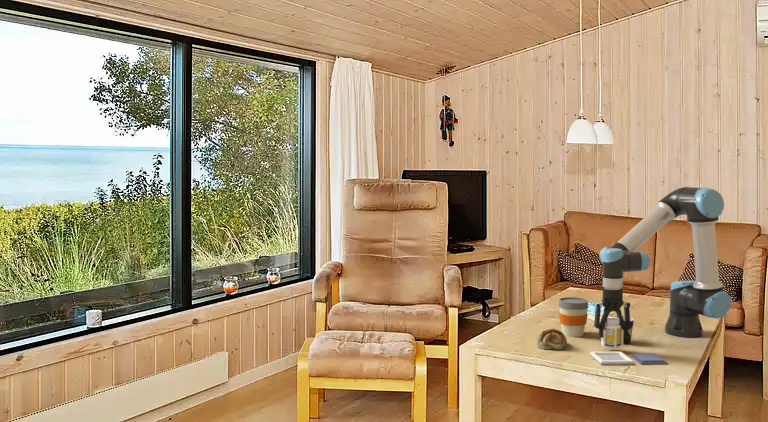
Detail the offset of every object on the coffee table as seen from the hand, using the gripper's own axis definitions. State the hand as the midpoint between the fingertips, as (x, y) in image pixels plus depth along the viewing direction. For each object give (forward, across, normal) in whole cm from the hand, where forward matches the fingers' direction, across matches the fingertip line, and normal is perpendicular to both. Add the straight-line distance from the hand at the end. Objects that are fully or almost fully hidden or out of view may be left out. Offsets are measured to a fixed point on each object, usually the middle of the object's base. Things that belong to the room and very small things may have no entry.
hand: (612, 345), depth 264 cm
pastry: (+3, +22, -8) cm, 23 cm away
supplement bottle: (+1, 0, 0) cm, 1 cm away
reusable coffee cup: (+3, +8, -26) cm, 27 cm away
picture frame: (+2, +5, +11) cm, 12 cm away
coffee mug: (+3, -10, -13) cm, 17 cm away
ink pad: (+3, -9, +12) cm, 16 cm away
